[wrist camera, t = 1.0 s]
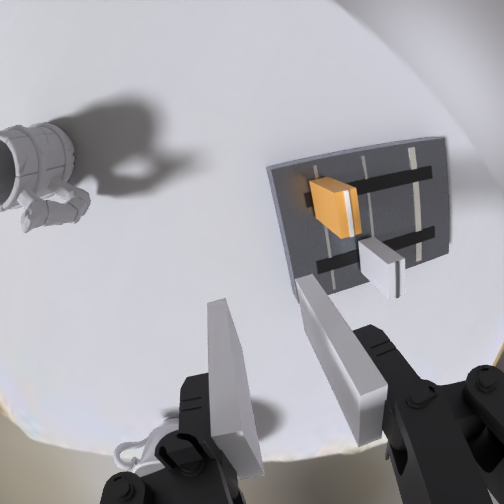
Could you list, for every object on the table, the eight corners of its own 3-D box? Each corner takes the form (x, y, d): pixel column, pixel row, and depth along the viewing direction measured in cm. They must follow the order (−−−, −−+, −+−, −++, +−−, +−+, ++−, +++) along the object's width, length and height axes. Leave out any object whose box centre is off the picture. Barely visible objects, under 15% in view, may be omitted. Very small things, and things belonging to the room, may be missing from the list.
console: (265, 167, 29) (271, 169, 26) (430, 136, 30) (444, 138, 27) (293, 292, 34) (299, 304, 32) (436, 246, 35) (449, 253, 32)
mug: (42, 109, 23) (-31, 106, 12) (122, 171, 27) (70, 195, 16) (10, 170, 25) (-62, 194, 14) (84, 232, 29) (28, 283, 18)
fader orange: (309, 180, 27) (335, 193, 21) (327, 176, 27) (357, 188, 21) (316, 218, 28) (342, 239, 23) (333, 213, 28) (363, 233, 23)
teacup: (129, 388, 37) (116, 446, 27) (229, 416, 40) (235, 471, 31) (116, 431, 40) (107, 481, 31) (202, 453, 44) (204, 502, 35)
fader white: (358, 240, 30) (389, 265, 24) (373, 236, 30) (406, 259, 24) (361, 272, 31) (389, 301, 25) (375, 267, 31) (406, 294, 25)
